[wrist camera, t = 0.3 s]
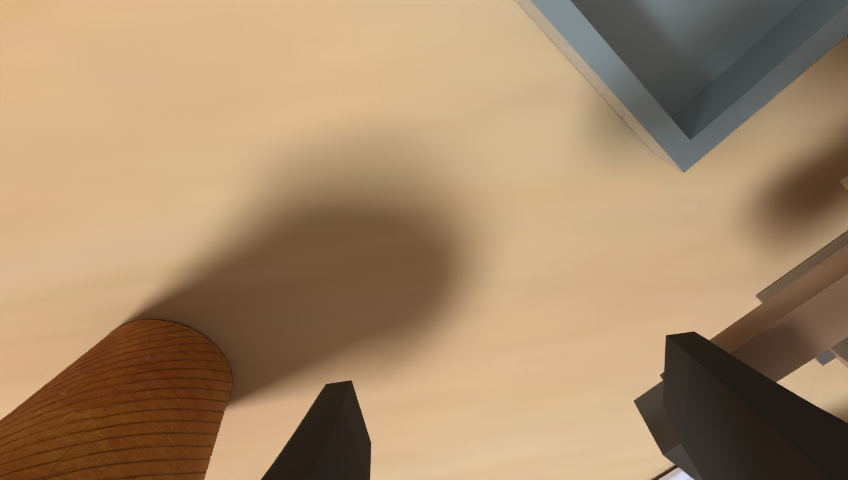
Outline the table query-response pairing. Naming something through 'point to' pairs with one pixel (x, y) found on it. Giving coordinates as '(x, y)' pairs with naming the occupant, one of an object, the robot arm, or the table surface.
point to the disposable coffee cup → (123, 410)
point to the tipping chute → (770, 340)
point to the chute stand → (843, 350)
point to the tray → (689, 60)
